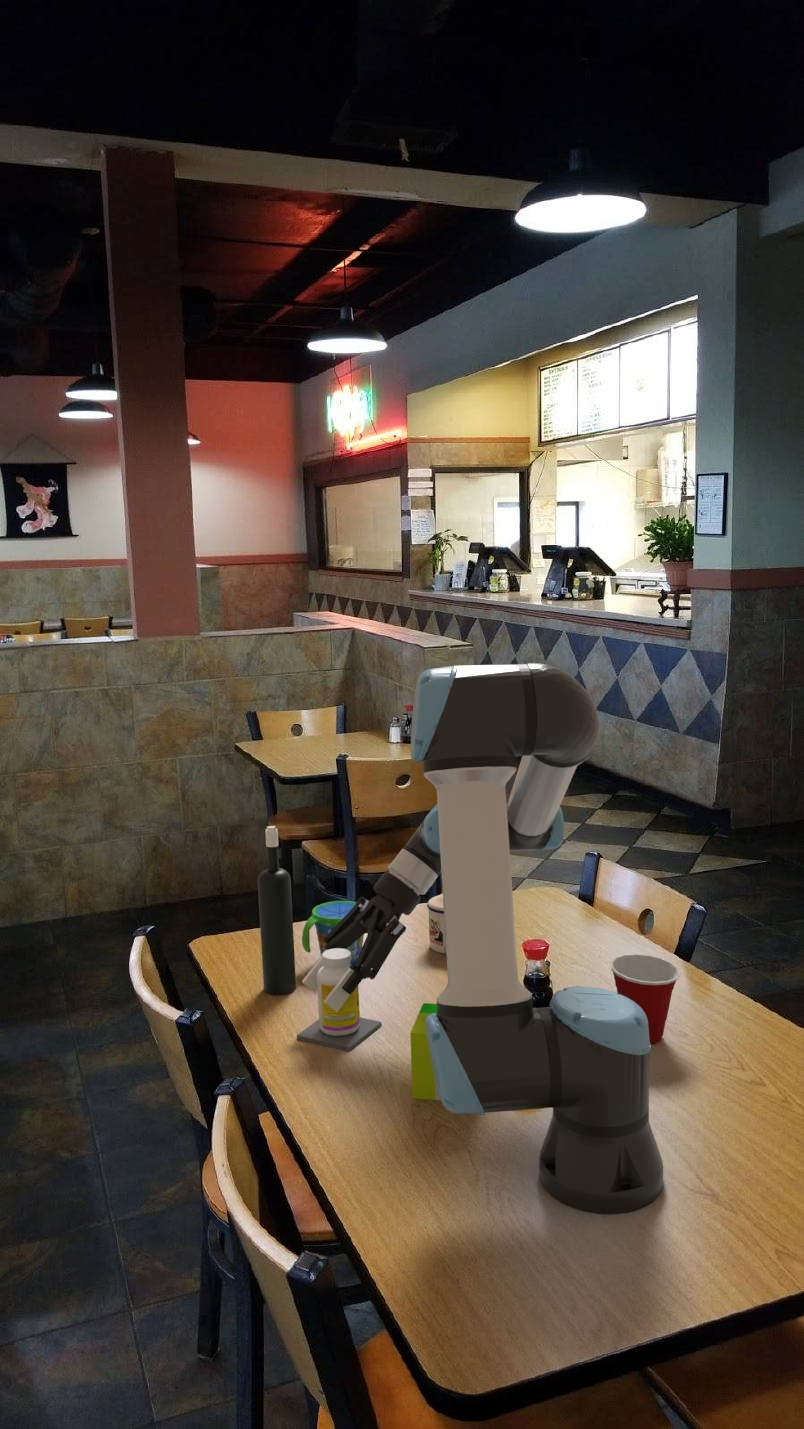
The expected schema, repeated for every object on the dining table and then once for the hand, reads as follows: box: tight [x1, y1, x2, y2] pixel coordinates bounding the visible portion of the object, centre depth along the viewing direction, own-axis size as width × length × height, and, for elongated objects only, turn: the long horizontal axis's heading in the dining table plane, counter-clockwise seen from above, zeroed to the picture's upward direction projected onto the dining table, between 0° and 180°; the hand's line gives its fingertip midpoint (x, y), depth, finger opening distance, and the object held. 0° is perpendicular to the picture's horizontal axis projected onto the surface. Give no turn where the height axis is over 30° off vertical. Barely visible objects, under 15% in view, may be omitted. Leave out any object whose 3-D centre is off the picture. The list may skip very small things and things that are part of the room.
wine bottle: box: [257, 825, 297, 996], centre depth 191 cm, size 6×6×30 cm
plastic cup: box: [609, 953, 682, 1046], centre depth 169 cm, size 11×11×12 cm
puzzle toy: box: [410, 1002, 441, 1101], centre depth 157 cm, size 10×10×10 cm
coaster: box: [296, 1016, 383, 1052], centre depth 176 cm, size 10×10×1 cm
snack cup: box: [301, 900, 365, 965], centre depth 205 cm, size 16×10×10 cm
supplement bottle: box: [317, 948, 361, 1036], centre depth 174 cm, size 7×7×13 cm
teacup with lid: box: [426, 892, 446, 954], centre depth 209 cm, size 12×9×12 cm
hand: (319, 996), depth 173 cm, fingers open, 8 cm apart
